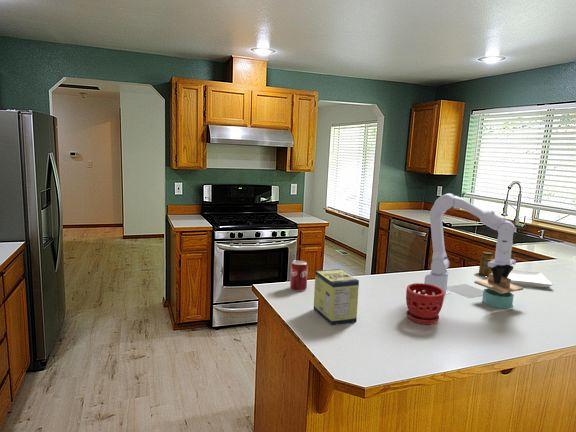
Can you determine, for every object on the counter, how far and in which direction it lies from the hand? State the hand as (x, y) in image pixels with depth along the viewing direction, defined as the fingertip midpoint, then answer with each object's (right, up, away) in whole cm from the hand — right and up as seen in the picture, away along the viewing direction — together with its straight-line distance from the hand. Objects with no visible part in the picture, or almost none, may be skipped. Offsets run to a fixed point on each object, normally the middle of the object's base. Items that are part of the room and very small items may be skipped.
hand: (499, 282), depth 170 cm
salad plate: (+30, -6, +36) cm, 47 cm away
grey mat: (-6, -7, +16) cm, 19 cm away
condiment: (+14, -4, +44) cm, 46 cm away
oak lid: (0, -2, +1) cm, 2 cm away
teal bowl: (0, -9, +1) cm, 9 cm away
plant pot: (-38, -11, -18) cm, 43 cm away
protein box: (-70, -10, -17) cm, 73 cm away
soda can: (-83, -5, +11) cm, 84 cm away
